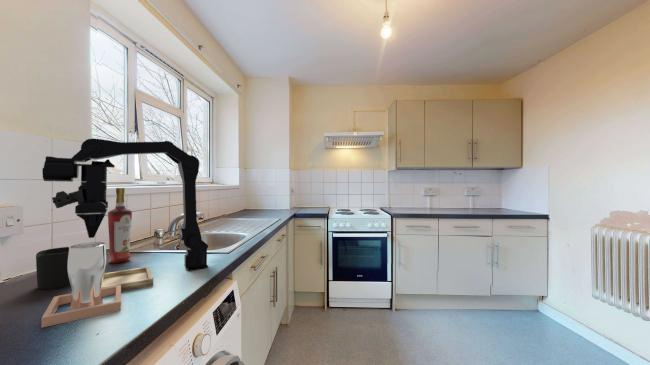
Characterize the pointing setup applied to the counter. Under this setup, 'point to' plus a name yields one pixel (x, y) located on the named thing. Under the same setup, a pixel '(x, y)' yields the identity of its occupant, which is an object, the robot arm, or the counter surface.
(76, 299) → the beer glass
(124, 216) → the red and white bottle
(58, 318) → the brown square frame
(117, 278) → the tray
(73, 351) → the counter surface
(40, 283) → the pen holder
